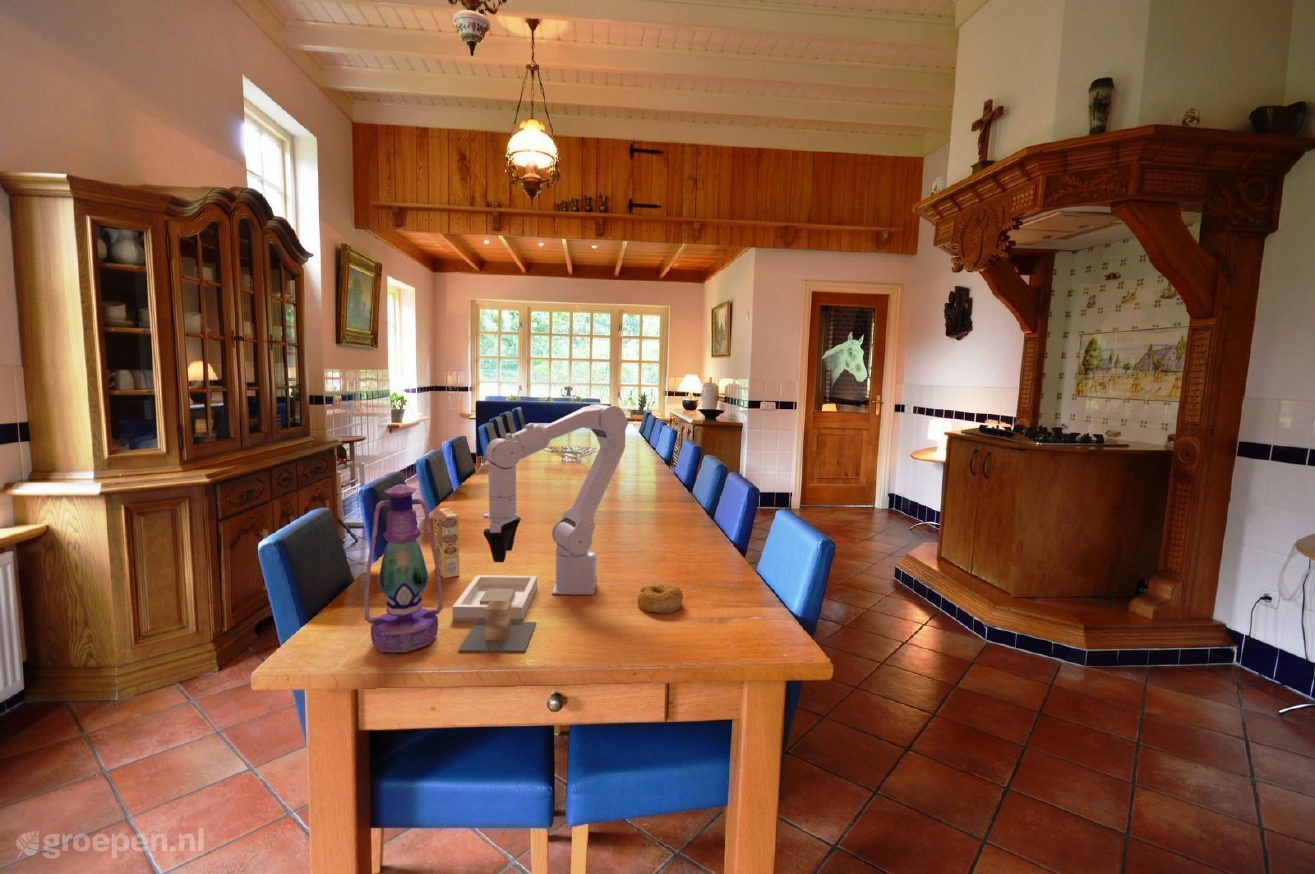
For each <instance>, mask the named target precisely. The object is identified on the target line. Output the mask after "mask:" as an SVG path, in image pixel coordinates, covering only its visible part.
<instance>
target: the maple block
mask: <svg viewBox="0 0 1315 874" xmlns="http://www.w3.org/2000/svg"><path fill="white" fill-rule="evenodd" d="M484 622H485V640H507V639H508V637H509V635H510V632H511V622H512V621H511V601H490V602H489V604H488V605H487V607H486V609H485V621H484Z"/></svg>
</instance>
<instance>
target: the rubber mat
mask: <svg viewBox="0 0 1315 874" xmlns="http://www.w3.org/2000/svg"><path fill="white" fill-rule="evenodd" d="M536 625H537V622H536V621H522V622H513V621H511V632H510V635H509V637H508V639H507V640H485V621H475V623H474V624H473V626H472V627H471V629H470V630H469V633H468V634H467V636H466V637H465V639H464V641H463V642H462V643H461V645H460V646H459V648H458V650H457V651H458V653H521V654H522V653H526V651H527V649H528V646H529V644H530V641H531V639H532V636H533V633H534V631H535V628H536Z"/></svg>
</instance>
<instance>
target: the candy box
mask: <svg viewBox="0 0 1315 874" xmlns="http://www.w3.org/2000/svg"><path fill="white" fill-rule="evenodd" d="M432 513H433V515H432V516H433V518H432V519H433V541H434V545H435V549H436V553H437V558H438V563H439V569H440V575H441V578H443V579H448V578H453V577H454V578H455V577H460V574H461V571H460V545H459V544H460V542H459V516H458V514H457V513H455V512H454V511H453V510H452V509H451V508H449V507H445V508H436V509H433V510H432Z"/></svg>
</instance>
